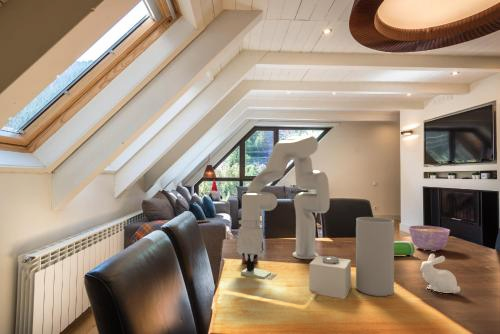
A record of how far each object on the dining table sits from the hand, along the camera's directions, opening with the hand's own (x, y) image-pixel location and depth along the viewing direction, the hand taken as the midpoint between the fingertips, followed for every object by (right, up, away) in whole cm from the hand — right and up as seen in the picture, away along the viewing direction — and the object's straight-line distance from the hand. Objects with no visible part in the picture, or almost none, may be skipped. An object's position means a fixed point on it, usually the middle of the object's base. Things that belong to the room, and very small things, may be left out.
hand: (250, 270), depth 129 cm
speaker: (+73, -4, +34) cm, 80 cm away
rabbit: (+67, -3, -14) cm, 68 cm away
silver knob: (+28, -1, -15) cm, 32 cm away
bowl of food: (+98, -4, +48) cm, 109 cm away
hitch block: (+28, -2, -15) cm, 32 cm away
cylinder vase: (+44, -3, -15) cm, 46 cm away
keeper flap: (+7, -1, -3) cm, 8 cm away
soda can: (0, -3, +16) cm, 16 cm away
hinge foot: (+8, -2, -4) cm, 10 cm away
